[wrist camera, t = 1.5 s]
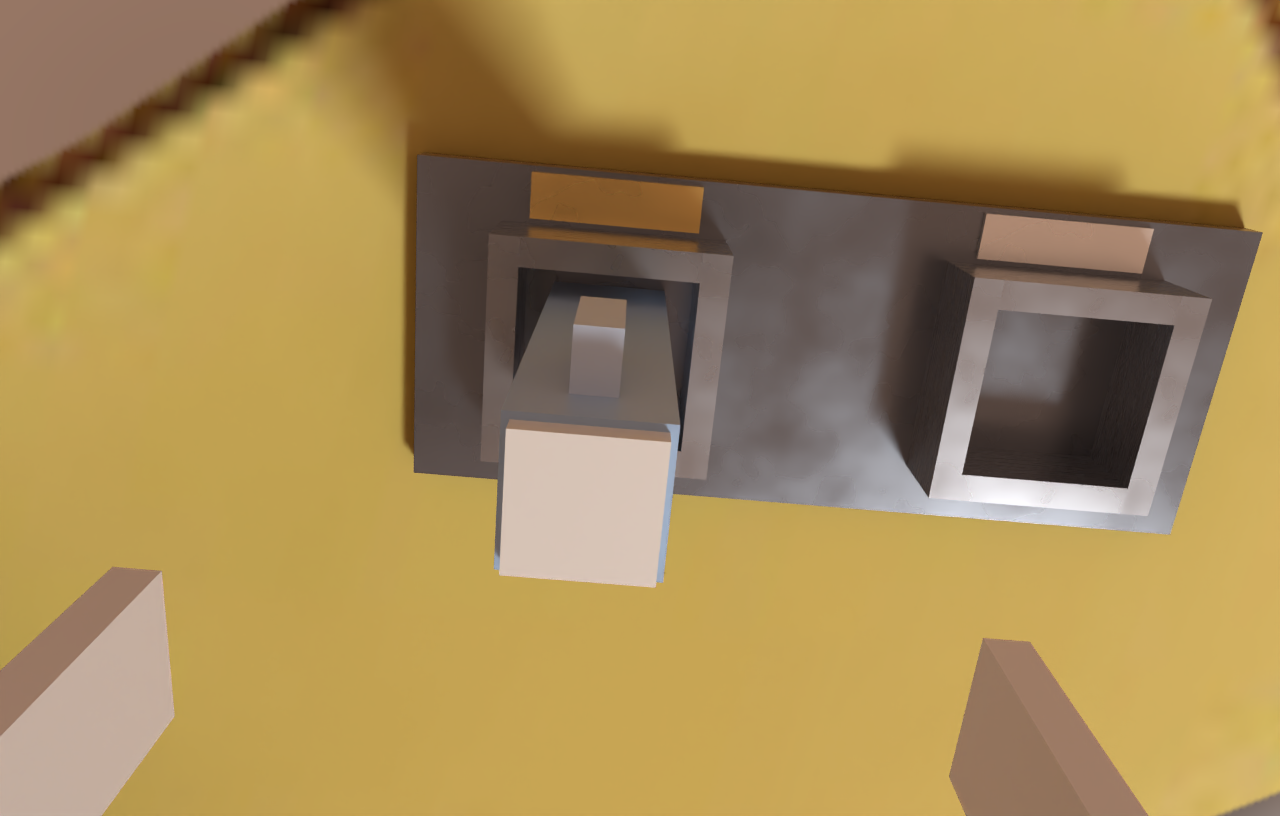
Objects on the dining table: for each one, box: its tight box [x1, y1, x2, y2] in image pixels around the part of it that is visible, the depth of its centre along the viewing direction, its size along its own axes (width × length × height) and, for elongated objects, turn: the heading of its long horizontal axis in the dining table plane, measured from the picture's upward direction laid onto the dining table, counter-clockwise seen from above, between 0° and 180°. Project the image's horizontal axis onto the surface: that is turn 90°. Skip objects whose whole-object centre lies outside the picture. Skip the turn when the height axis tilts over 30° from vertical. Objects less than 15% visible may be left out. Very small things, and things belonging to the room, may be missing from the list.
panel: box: [414, 153, 1262, 534], centre depth 34 cm, size 30×12×4 cm, turn 85°
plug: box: [494, 281, 680, 587], centre depth 28 cm, size 4×6×15 cm
